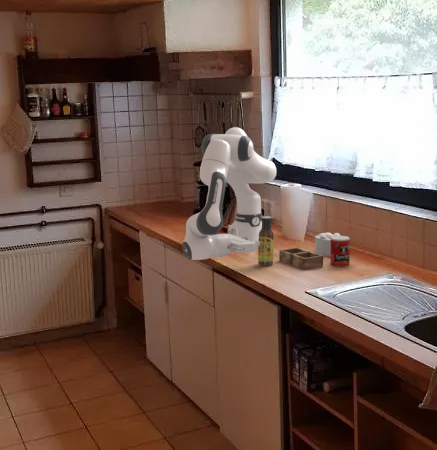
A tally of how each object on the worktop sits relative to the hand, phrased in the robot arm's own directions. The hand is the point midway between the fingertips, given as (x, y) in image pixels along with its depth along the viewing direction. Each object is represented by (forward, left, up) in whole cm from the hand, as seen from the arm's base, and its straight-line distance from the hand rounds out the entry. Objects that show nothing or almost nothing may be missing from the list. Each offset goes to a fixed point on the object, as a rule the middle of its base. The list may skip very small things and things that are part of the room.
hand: (252, 240), depth 288 cm
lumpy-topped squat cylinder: (-2, +40, -11) cm, 42 cm away
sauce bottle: (0, +6, -11) cm, 13 cm away
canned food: (+15, +32, -11) cm, 37 cm away
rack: (+6, +19, -11) cm, 23 cm away
